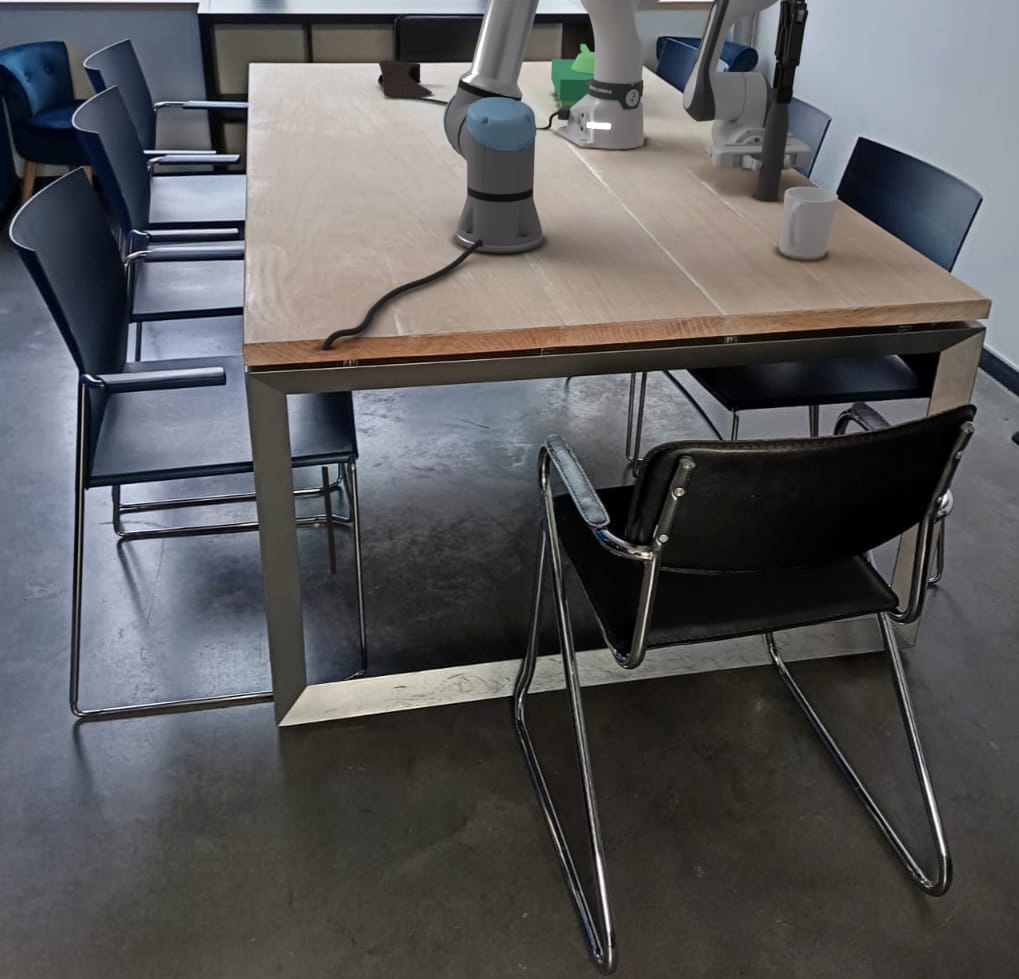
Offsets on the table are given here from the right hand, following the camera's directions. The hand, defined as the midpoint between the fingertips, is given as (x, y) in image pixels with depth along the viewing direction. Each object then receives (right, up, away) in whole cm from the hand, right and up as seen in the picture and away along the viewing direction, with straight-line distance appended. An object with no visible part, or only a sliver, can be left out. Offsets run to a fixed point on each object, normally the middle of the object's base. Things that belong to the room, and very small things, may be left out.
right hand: (773, 166), depth 217 cm
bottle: (0, -5, +4) cm, 7 cm away
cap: (0, +12, -7) cm, 14 cm away
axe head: (-82, +45, +83) cm, 125 cm away
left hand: (0, +11, -6) cm, 13 cm away
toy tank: (-32, +41, +78) cm, 93 cm away
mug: (-1, -23, -25) cm, 34 cm away
